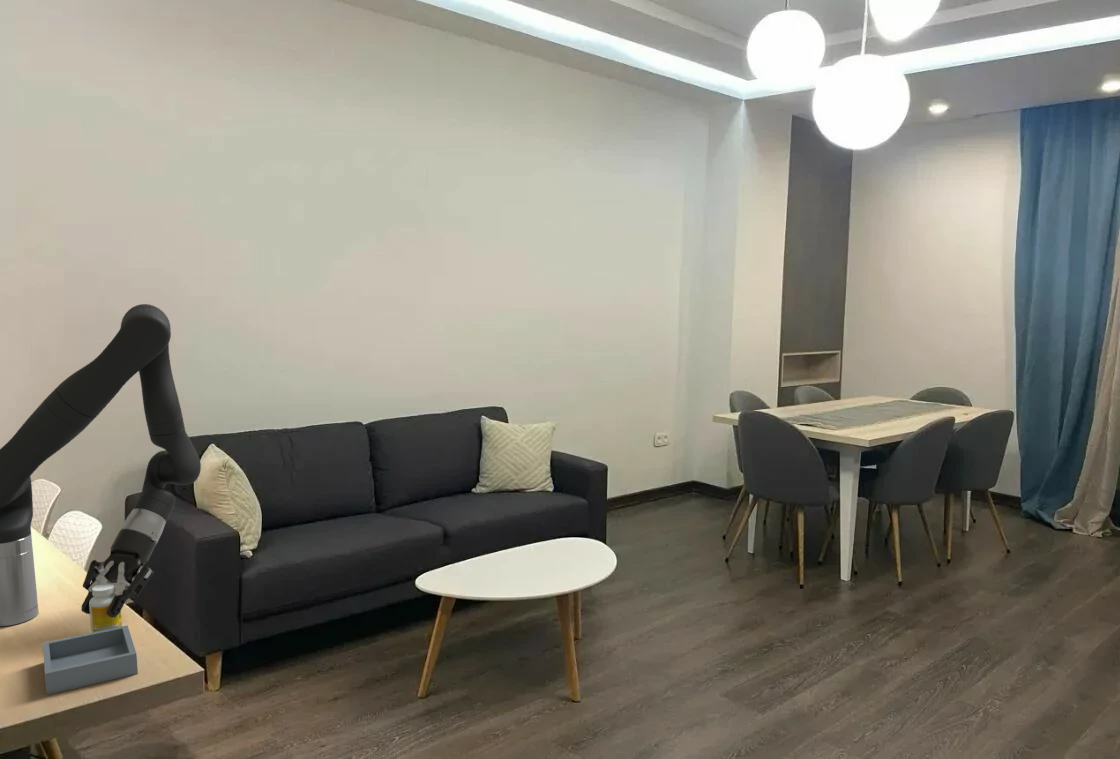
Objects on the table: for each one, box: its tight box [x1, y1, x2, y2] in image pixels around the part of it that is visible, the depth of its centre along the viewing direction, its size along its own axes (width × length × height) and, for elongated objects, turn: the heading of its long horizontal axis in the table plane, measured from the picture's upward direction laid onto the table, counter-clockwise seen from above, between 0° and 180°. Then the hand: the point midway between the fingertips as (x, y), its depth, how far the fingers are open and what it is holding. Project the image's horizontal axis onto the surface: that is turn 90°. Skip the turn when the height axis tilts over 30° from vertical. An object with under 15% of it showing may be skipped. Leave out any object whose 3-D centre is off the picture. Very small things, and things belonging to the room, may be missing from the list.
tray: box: [42, 624, 139, 696], centre depth 155 cm, size 14×14×4 cm
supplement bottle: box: [89, 583, 123, 633], centre depth 169 cm, size 5×5×10 cm
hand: (98, 613), depth 167 cm, fingers closed on supplement bottle, 5 cm apart
